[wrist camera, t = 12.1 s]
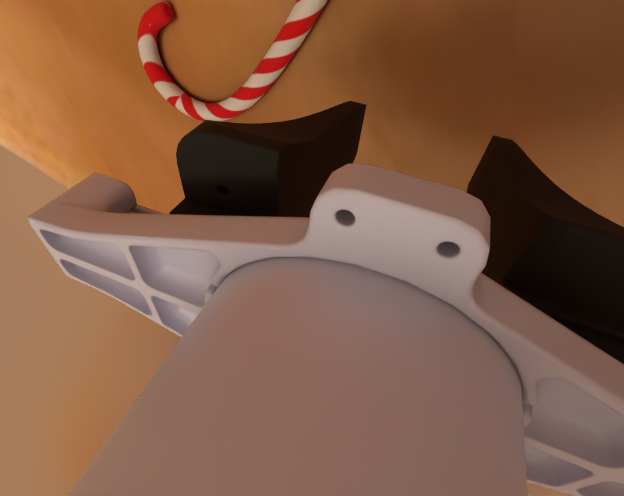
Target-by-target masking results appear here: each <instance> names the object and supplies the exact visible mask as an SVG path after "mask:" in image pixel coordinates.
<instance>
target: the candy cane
mask: <svg viewBox="0 0 624 496" xmlns="http://www.w3.org/2000/svg"><path fill="white" fill-rule="evenodd" d="M326 2H327V0H297V2H296V4H295V6H294V8H293V9H292V11H291V13H290V15H289V17H288V19H287V20H286V22H285V24H284V26H283V27H282V29H281V31H280V33H279V34H278V36H277V37H276V39H275V41H274V42H273V44H272V46H271V47H270V49H269V50H268V52H267V53H266V55H265V56H264V58H263V59H262V61H261V62H260V64H259V65H258V67H257V68H256V69H255V71H254V72H253V74H252V75H251V76H250V78H249V79H248V80H247V81H246V83H245V84H244V85H243V86H242V87H241V88H240V89H239V90H238V91H237V92H236V93H235V94H233V95H232V96H231V97H229V98H227V99H226V100H224V101H221V102H217V103H205V102H201V101H198V100H196V99H194V98H192V97H190V96H189V95H187V94H186V93H185V92H184V91H182V90H181V89H180V88H179V87H178V86H177V85H176V84H175V83H174V81H173V80H172V79H171V77H170V76H169V75H168V73H167V72H166V70H165V69H164V67H163V64H162V62H161V59H160V56H159V53H158V48H157V35H158V32H159V31H160V29H161V28H162V27H163V26H165V25H166V24H168V23H170V22H171V21H172V20H173V17H174V13H173V10H172V7H171V6H170V5H169V3H167V2H165V1H161V2H158V3H156V4H154V5H153V6H152V7H150V8H149V9H148V10H147V11H146V12H145V14H144V15H143V17H142V19H141V21H140V24H139V28H138V48H139V53H140V57H141V60H142V63H143V66H144V69H145V71H146V73H147V75H148V77H149V79H150V80H151V82H152V83H153V85H154V86H155V87H156V89H157V90H158V91H159V92H160V94H161V95H162V96H163V97H164V98H165V99H166V100H167V101H168V102H169V103H170V104H171V105H173V106H174V107H175V108H177V109H178V110H179V111H181V112H183V113H184V114H186V115H188V116H190V117H192V118H195V119H198V120H202V121H205V120H213V121H224V120H228V119H231V118H233V117H235V116H237V115H239V114H241V113H243V112H244V111H246V110H247V109H249V108H250V107H251V106H253V105H254V104H255V103H256V102H257V101H258V100H259V99H260V98H261V97H262V96H263V95H264V94H265V93H266V91H267V90H268V89H269V88H270V87H271V85H272V84H273V83H274V82H275V80H276V79H277V78H278V76H279V75H280V74H281V72H282V71H283V70H284V68H285V67H286V66H287V64H288V63H289V61H290V60H291V59H292V57H293V56H294V54H295V53H296V51H297V50H298V48H299V47H300V45H301V44H302V42H303V41H304V39H305V37H306V36H307V34H308V33H309V31H310V29H311V28H312V26H313V24H314V23H315V21H316V19H317V18H318V16H319V14H320V13H321V11H322V9H323V7H324V6H325V4H326Z"/></svg>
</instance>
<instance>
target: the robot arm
mask: <svg viewBox="0 0 624 496" xmlns="http://www.w3.org/2000/svg"><path fill="white" fill-rule="evenodd" d="M365 109H366V105H365V104H361V103H357V102H353V101H348V102H345V103H342V104H339V105H337V106H334V107H332V108H329V109H327V110H324V111H321V112H318V113H315V114H312V115H309V116H306V117H302V118H299V119H294V120H289V121H283V122H274V123H262V124H245V123H229V122H221V121H213V120H205V121H204V122H203V123H201V124H200V125H199V126H197V127H196V128H195V129H193V130H192V131H191V132H189V133H188V134H187V135H185V136H184V137H183V138H182V139H181V141H180V142H179V144H178V147H177V152H176V157H177V165H178V169H179V173H180V177H181V182H182V186H183V190H184V194H185V199H184V200H183V201H182V202H180V203H179V204H178V205H177V206H176V207H175V208H174V209H173V210H172V211H171V212H170V214H163V213H160V212H157V211H155V210H152V209H149V208H146V207H143V206H140V205H137V203H136V198H135V195H134V192H133V191H132V189H131V188H130V187H129V186H128V185H127V184H126V183H124V182H122V181H120V180H117V179H114V178H111V177H108V176H105V175H102V174H99V173H93V174H92V175H90V176H89V177H87V178H86V179H84V180H83V181H81V182H80V183H78V184H77V185H75V186H74V187H72V188H71V189H69V190H68V191H66V192H65V193H63V194H62V195H60V196H59V197H58V198H56V199H54V200H53V201H51V202H50V203H48V204H47V205H45V206H44V207H42V208H41V209H39V210H38V211H36V212H35V213H33V214H32V215H30V216H29V217H28V222H29V223H30V225H31V226H32V228H33V229H34V231H35V232H36V233H37V235H38V236H39V238H40V239H41V240H42V242H43V243H44V245H45V246H46V248H47V249H48V250H49V252H50V253H51V255H52V256H53V258H54V259H55V260H56V262H57V263H58V265H59V266H60V268H61V269H62V270H63V272H64V273H65V275H66V276H68V277H70V278H72V279H75V280H77V281H79V282H81V283H83V284H86V285H88V286H90V287H92V288H94V289H96V290H98V291H100V292H102V293H104V294H106V295H108V296H110V297H113V298H114V299H116V300H118V301H120V302H121V303H123V304H125V305H127V306H128V307H130V308H132V309H134V310H136V311H137V312H139V313H141V314H142V315H144V316H146V317H148V318H149V319H151V320H153V321H155V322H156V323H158V324H160V325H161V326H163V327H165V328H167V329H168V330H170V331H172V332H174V333H175V334H177V335H178V336H180V337H181V339H180V340H179V341H178V343H177V344H176V346H175V347H174V348H173V350H172V351H171V352H170V354H169V355H168V357H167V358H166V359H165V361H164V362H163V363H162V365H161V366H160V367H159V369H158V370H157V372H156V373H155V374H154V376H153V377H152V379H151V380H150V381H149V383H148V384H147V385H146V387H145V388H144V389H143V391H142V392H141V394H140V395H139V396H138V398H137V399H136V400H135V402H134V403H133V405H132V406H131V407H130V409H129V410H128V412H127V413H126V414H125V415H124V417H123V418H122V420H121V421H120V422H119V424H118V425H117V427H116V428H115V429H114V431H113V432H112V433H111V435H110V436H109V438H108V439H107V440H106V442H105V443H104V444H103V446H102V447H101V449H100V450H99V451H98V453H97V454H96V455H95V457H94V458H93V460H92V461H91V462H90V463H89V465H88V466H87V468H86V469H85V470H84V472H83V473H82V474H81V476H80V477H79V479H78V480H77V481H76V483H75V484H74V485H73V487H72V488H71V490H70V491H69V493H68V494H67V495H66V496H528V494H527V482H530V483H533V484H536V485H540V486H543V487H547V488H550V489H553V490H557V491H560V492H563V493H567V494H570V495H573V496H624V227H622V226H620V225H618V224H616V223H614V222H612V221H610V220H608V219H606V218H604V217H602V216H601V215H599V214H597V213H595V212H594V211H592V210H591V209H589V208H587V207H586V206H584V205H582V204H581V203H579V202H578V201H576V200H575V199H573V198H572V197H571V196H569V195H568V194H567V193H566V192H564V191H563V190H562V189H560V188H559V187H558V186H557V185H556V184H554V183H553V182H552V181H551V180H550V179H549V178H548V177H547V176H546V175H545V174H544V173H543V172H542V171H541V170H540V169H539V168H538V167H537V166H536V165H535V164H534V163H533V162H532V161H531V159H530V158H529V157H528V156H527V155H526V154H525V153H524V151H523V150H522V149H521V148H520V147H519V146H518V145H517V144H516V143H515V142H514V141H513V140H510V139H506V138H502V137H498V136H493V137H492V139H491V141H490V143H489V145H488V147H487V149H486V151H485V153H484V155H483V157H482V159H481V161H480V163H479V165H478V167H477V168H476V170H475V172H474V174H473V176H472V178H471V180H470V182H469V184H468V189H467V193H466V192H465V191H463V190H461V189H457V188H453V187H450V186H446V185H443V184H439V183H435V182H432V181H428V180H424V179H421V178H417V177H414V176H410V175H406V174H403V173H399V172H395V171H392V170H388V169H384V168H381V167H377V166H374V165H370V164H353V161H354V159H355V157H356V154H357V150H358V145H359V140H360V135H361V130H362V124H363V119H364V114H365Z"/></svg>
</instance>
